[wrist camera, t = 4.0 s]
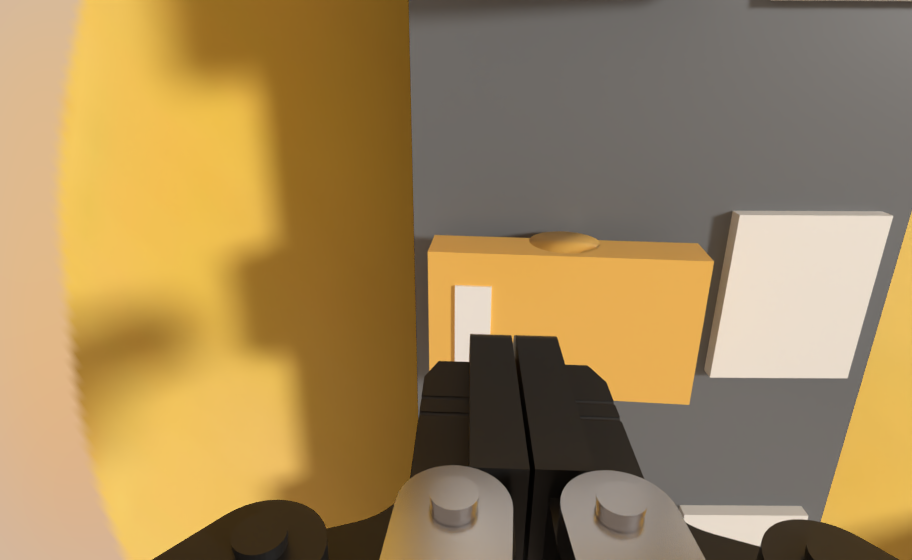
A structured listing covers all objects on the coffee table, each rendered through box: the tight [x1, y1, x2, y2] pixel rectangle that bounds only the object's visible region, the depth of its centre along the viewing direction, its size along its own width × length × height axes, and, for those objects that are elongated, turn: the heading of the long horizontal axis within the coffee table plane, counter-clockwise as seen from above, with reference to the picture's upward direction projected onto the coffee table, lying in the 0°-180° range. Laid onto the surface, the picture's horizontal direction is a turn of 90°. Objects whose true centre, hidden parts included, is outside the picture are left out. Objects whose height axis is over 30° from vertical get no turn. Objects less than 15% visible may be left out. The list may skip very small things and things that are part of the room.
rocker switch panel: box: [409, 0, 912, 546], centre depth 17 cm, size 12×28×4 cm, turn 0°
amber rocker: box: [428, 231, 714, 405], centre depth 14 cm, size 6×4×2 cm, turn 90°
